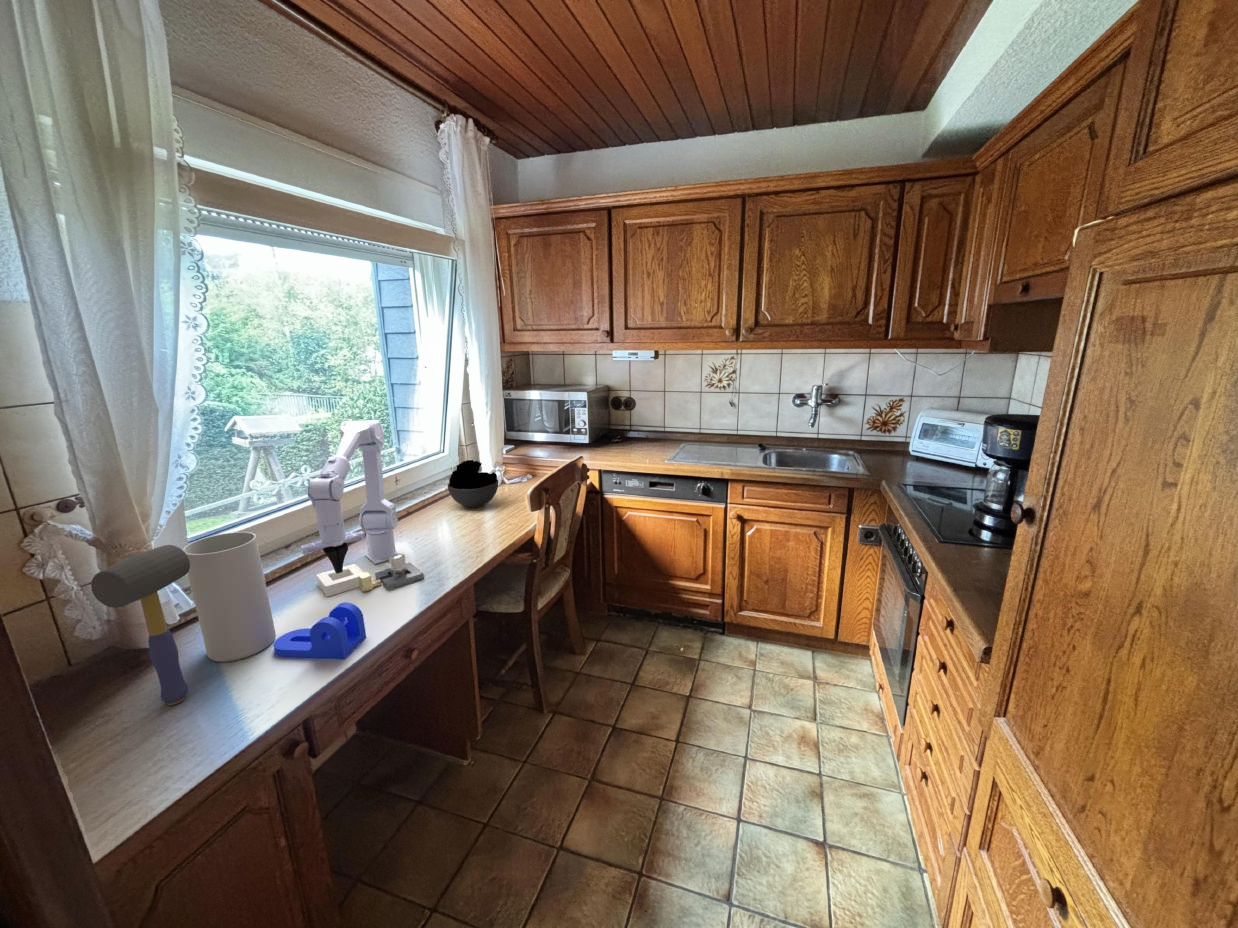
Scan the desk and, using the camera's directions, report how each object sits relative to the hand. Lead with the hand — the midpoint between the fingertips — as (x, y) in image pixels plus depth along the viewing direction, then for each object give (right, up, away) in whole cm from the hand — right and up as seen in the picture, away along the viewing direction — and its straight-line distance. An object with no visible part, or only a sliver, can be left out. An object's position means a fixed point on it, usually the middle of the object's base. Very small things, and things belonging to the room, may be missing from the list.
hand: (338, 571), depth 134 cm
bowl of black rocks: (+15, +11, +75) cm, 77 cm away
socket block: (+11, -4, +12) cm, 17 cm away
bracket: (+7, -13, -20) cm, 25 cm away
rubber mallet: (-11, -17, -37) cm, 42 cm away
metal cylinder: (+11, -4, +12) cm, 17 cm away
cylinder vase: (-11, -13, -20) cm, 26 cm away
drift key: (+5, -6, +7) cm, 10 cm away
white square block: (-4, -5, +9) cm, 11 cm away
